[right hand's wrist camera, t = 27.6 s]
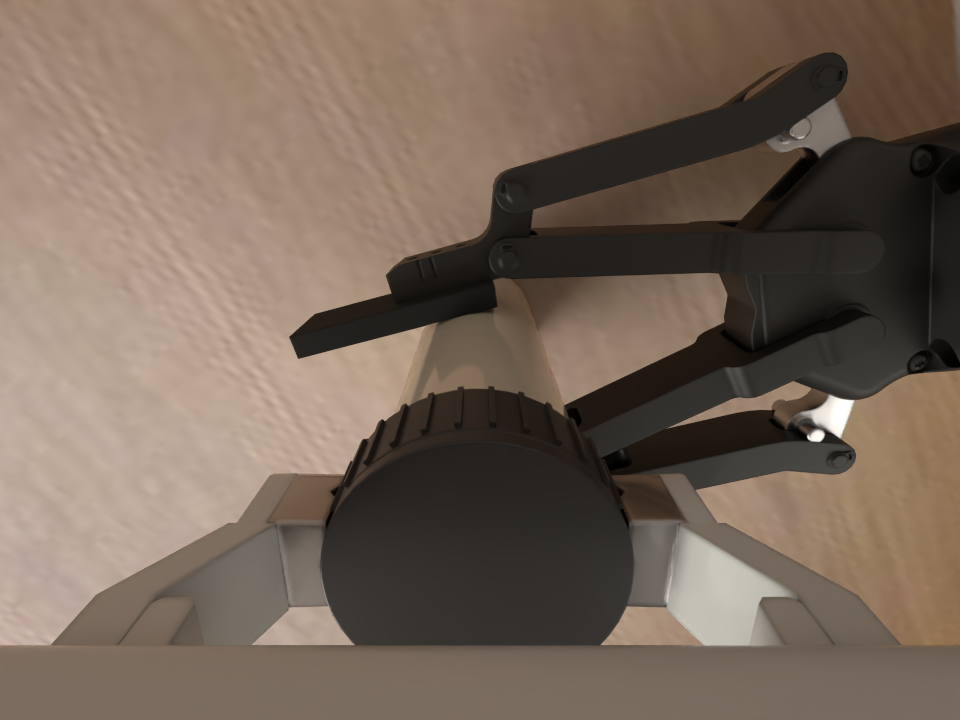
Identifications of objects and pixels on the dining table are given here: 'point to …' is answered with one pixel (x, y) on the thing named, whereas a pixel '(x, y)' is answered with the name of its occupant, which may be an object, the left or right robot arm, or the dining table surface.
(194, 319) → the dining table surface
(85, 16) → the dining table surface
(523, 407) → the lid
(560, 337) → the dining table surface
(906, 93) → the dining table surface
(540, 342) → the jar
